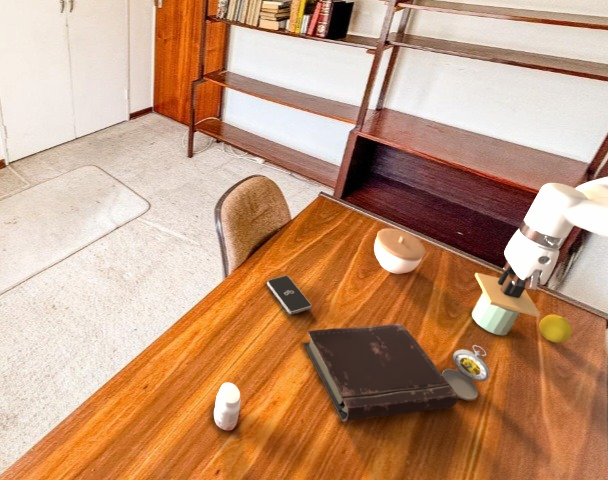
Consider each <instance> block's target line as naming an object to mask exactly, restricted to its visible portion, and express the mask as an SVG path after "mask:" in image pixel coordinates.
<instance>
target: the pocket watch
mask: <svg viewBox="0 0 608 480" xmlns="http://www.w3.org/2000/svg"><path fill="white" fill-rule="evenodd" d="M475 347H477V348H480V349H481V350H482V351H483V352H484V354H482V353H481V350H476V349H475ZM472 350H473V351H474V352H473V351H471V350H468V349H458V350H456V351H454V353H453V354H452V362H453V364H454V366H455V367H456V368H457V370H456V369H453V368H445V369H444V370H442V372H441V374H442V375H443V377H444V378H445V379H446V380H447V382H448V383H449V384H450V386H451V387H452V388H453V389H454V391H455V392H456V393H457V394H458V399H462V400H465V401H474V400H476V399H477V398H478V396H479V391H478V388H477V386H476V384H475V382H481V383H482V382H486V381H487V380H489V378H490V375H491V372H490V371H491V370H490V367H489V365H488V363H487V362H486V361H485V360H484V359H483V358H482V357H486V356H488V353H487V351H486V350H485V349H484V348H483V347H481V345H480V346H479V345H477V344H473V345H472ZM481 356H482V357H481ZM472 380H473V381H472ZM474 381H475V382H474Z"/></svg>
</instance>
